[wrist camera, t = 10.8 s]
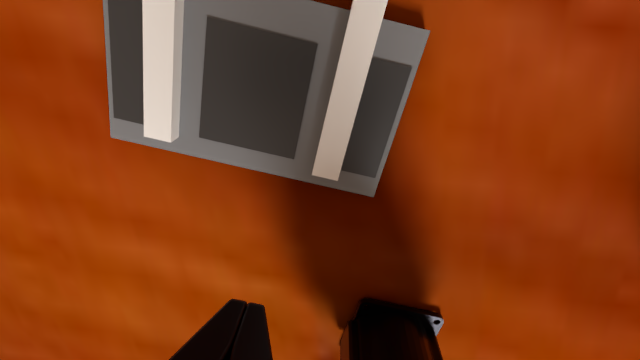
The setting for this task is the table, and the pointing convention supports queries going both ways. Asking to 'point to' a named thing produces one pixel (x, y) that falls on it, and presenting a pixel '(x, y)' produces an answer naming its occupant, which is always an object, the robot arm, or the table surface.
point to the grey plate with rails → (263, 83)
